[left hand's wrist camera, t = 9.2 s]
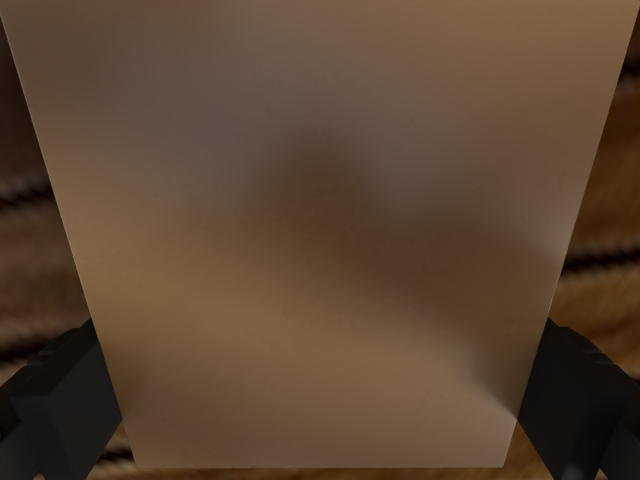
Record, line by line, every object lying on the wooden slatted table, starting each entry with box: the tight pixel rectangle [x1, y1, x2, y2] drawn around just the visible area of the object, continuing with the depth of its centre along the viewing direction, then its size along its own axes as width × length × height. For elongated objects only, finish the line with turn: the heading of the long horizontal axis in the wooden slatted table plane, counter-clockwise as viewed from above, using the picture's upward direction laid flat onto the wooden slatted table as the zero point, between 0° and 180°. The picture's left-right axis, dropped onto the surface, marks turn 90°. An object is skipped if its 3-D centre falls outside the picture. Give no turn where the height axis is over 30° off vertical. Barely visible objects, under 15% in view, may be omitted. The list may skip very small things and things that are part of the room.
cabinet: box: [0, 0, 640, 468], centre depth 10 cm, size 20×11×9 cm, turn 0°
